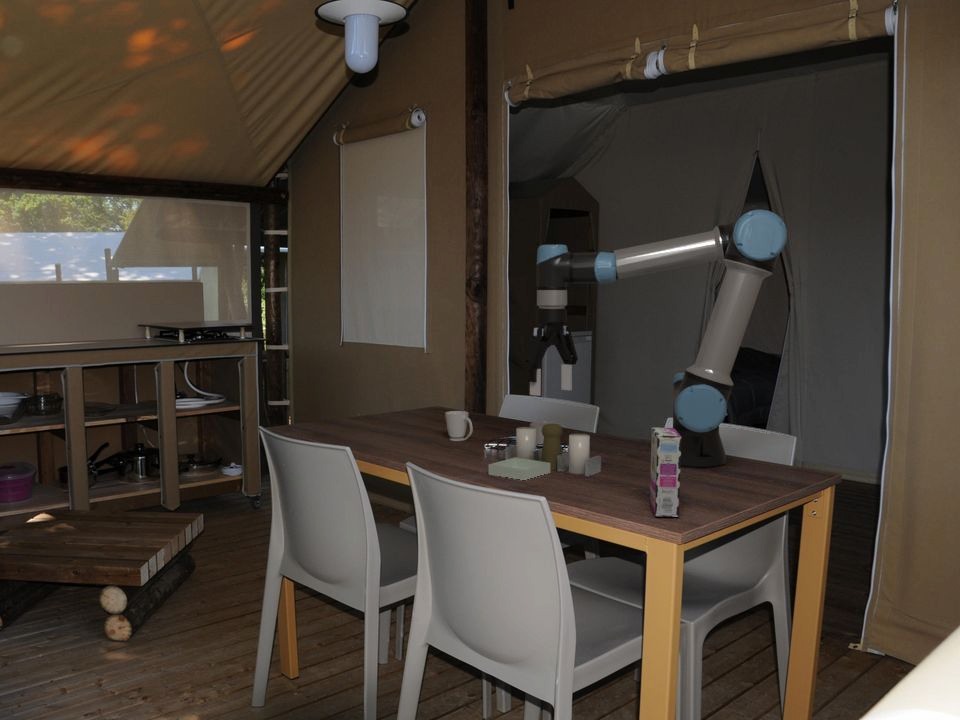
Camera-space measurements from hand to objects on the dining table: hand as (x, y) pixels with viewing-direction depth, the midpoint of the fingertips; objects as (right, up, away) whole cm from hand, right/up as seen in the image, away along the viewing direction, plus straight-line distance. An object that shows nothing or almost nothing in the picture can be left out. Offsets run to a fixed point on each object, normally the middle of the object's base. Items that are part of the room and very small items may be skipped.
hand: (551, 392), depth 213 cm
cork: (0, -19, +1) cm, 19 cm away
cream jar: (+6, -19, -4) cm, 21 cm away
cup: (-24, -16, +38) cm, 47 cm away
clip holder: (0, -19, +1) cm, 19 cm away
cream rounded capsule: (-6, -18, +6) cm, 20 cm away
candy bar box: (+20, -23, -40) cm, 50 cm away
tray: (-8, -19, -6) cm, 22 cm away
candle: (+1, -17, +29) cm, 33 cm away
